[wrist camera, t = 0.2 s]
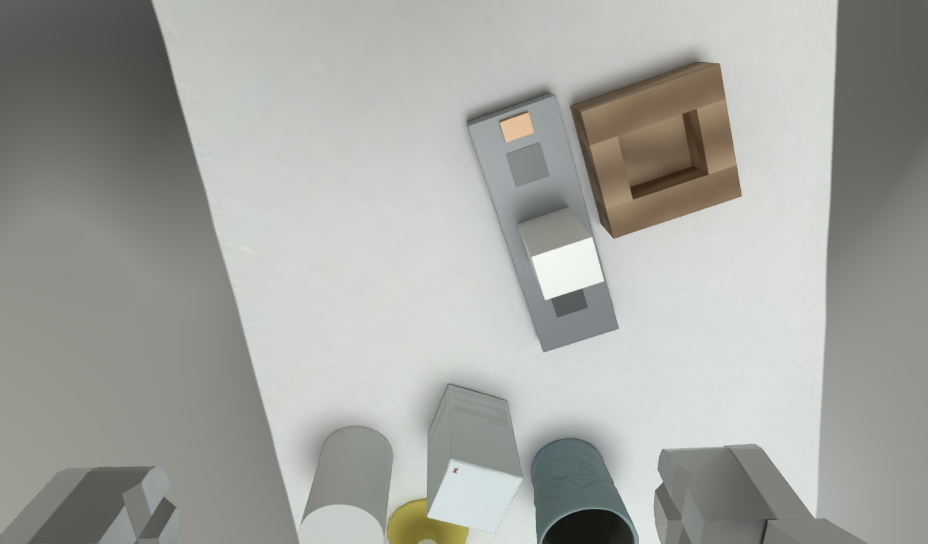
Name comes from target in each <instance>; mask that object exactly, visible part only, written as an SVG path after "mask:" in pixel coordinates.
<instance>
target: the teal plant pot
mask: <svg viewBox="0 0 928 544" xmlns="http://www.w3.org/2000/svg"><path fill="white" fill-rule="evenodd" d="M531 475H532V483H533V487H534V504H535V507H536V533H537V544H639V538H638V534H637V531H636V529H635V527H634V524H633V522H632V520H631V518H630V516H629V514H628V512H627V510H626V508H625V505H624V503H623V501H622V499H621V497H620V495H619V493H618V490H617V489H616V487H615V486H614V482H613V480H612V478H611V476H610V474H609V472H608V470H607V468H606V466H605V464H604V461H603V459H602V457H601V455H600V453H599V452H598V451H597V450H596V449H595V448H594V447H593V446H592V445H591V444H589V443H587V442H585V441H582V440H578V439H562V440H558V441H555V442H552V443H550V444H548V445H547V446H545V447H544V448H543V449H541V450H540V451H539V452H538V454H537V455H536V457H535V458H534V460H533V463H532V469H531Z"/></svg>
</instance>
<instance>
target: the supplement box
mask: <svg viewBox="0 0 928 544" xmlns="http://www.w3.org/2000/svg"><path fill="white" fill-rule="evenodd" d="M523 480H524V478H523V474H522V470H521V466H520V461H519V456H518V451H517V446H516V441H515V436H514V431H513V426H512V421H511V416H510V412H509V407H508V402H507V401H506V400H502V399H499V398H495V397H492V396H488V395H485V394H481V393H478V392H474V391H471V390H467V389H464V388H460V387H457V386H454V385H450V384H449V385H448V386H447V389H446V391H445V394H444V396H443V399H442V401H441V403H440V406H439V408H438V411H437V413H436V416H435V418H434V420H433V423H432V425H431V428H430V430H429V433H428V462H427V517H428V518H432V519H436V520H440V521H444V522H448V523H452V524H456V525H460V526H464V527H468V528H473V529H477V530H480V531H484V532H488V533H492V534H496V532H497V530H498V528H499V526H500V524H501V522H502V520H503V518H504V516H505V514H506V512H507V510H508V508H509V506H510V504H511V502H512V500H513V499H514V497H515V495H516V493H517V491H518V489H519V487H520V485H521V483H522V482H523Z"/></svg>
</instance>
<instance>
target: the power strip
mask: <svg viewBox="0 0 928 544" xmlns="http://www.w3.org/2000/svg"><path fill="white" fill-rule="evenodd" d="M467 125H468V128H469V131H470V134H471V137H472V140H473V143H474V146H475V149H476V152H477V155H478V158H479V161H480V164H481V167H482V170H483V173H484V176H485V179H486V182H487V185H488V188H489V191H490V194H491V197H492V200H493V203H494V206H495V209H496V212H497V215H498V218H499V221H500V224H501V227H502V230H503V233H504V236H505V239H506V242H507V245H508V248H509V251H510V254H511V257H512V260H513V263H514V266H515V269H516V272H517V275H518V278H519V281H520V284H521V287H522V290H523V293H524V296H525V299H526V302H527V305H528V308H529V311H530V314H531V317H532V320H533V323H534V326H535V329H536V332H537V335H538V338H539V341H540V344H541V347H542V350H543V353H544V352H547V351H550V350H553V349H556V348H559V347H563V346H566V345H569V344H572V343H575V342H578V341H582V340H585V339H588V338H591V337H594V336H597V335H600V334H604V333H607V332H610V331H613V330H616V329H619V327H618V323H617V320H616V316H615V312H614V309H613V305H612V301H611V298H610V294H609V290H608V287H607V283H606V279H605V276H604V272H603V268H602V265H601V261H600V257H599V254H598V250H597V246H596V243H595V239H594V235H593V232H592V228H591V224H590V220H589V217H588V213H587V209H586V206H585V202H584V198H583V195H582V191H581V187H580V184H579V180H578V176H577V173H576V169H575V165H574V162H573V158H572V154H571V151H570V147H569V143H568V140H567V136H566V132H565V129H564V125H563V121H562V118H561V114H560V110H559V106H558V103H557V99H556V95H554V94H551V93H547V94H544V95H541V96H539V97H536V98H533V99H530V100H527V101H524V102H522V103H519V104H516V105H513V106H510V107H508V108H505V109H502V110H499V111H496V112H494V113H491V114H488V115H485V116H482V117H479V118H477V119H474V120H471V121H468V122H467ZM567 207H569V208H570V209H571V210H572V212H573V213H574V214H575V215H576V217H577V218H578V219H579V221H580V222H581V223H582V224H583V226H584V227H585V228H586V230H587V231H588V232H589V233H590V235H591V236H592V238H593V242H594V245H595V249H596V253H597V256H598V260H599V264H600V267H601V271H602V275H603V278H604V281H603V282H600V283H597V284H594V285H591V286H588V287H585V288H582V289H579V290H576V291H572V292H569V293H566V294H563V295H560V296H557V297H554V298H551V299H548V300H545V299H544V296H543V294H542V291H541V289H540V286H539V284H538V281H537V279H536V276H535V274H534V271H533V269H532V266H531V264H530V261H529V258H528V255H527V252H526V249H525V246H524V243H523V240H522V237H521V233H520V230H519V227H518V224H519V223H522V222H525V221H528V220H531V219H534V218H537V217H540V216H543V215H546V214H549V213H552V212H555V211H558V210H561V209H564V208H567Z"/></svg>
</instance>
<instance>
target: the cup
mask: <svg viewBox="0 0 928 544" xmlns="http://www.w3.org/2000/svg"><path fill="white" fill-rule="evenodd" d="M392 462H393V451H392V448H391V445H390V443H389V442H388V440H387V439H386V438H385V437H384V436H383V435H382V434H380V433H379V432H377V431H375V430H373V429H370V428H367V427H361V426H351V427H346V428H342V429H340V430H338V431H336V432H334V433H333V434H332V435H331V436H329V438H328V439H327V440H326V442H325V443H324V446H323V449H322V452H321V456H320V459H319V463H318V466H317V470H316V473H315V476H314V480H313V483H312V487H311V490H310V494H309V497H308V501H307V504H306V508H305V511H304V514H303V518H302V521H301V525H300V528H299V533H298V538H299V543H300V544H383V541H384V532H385V523H386V515H387V506H388V497H389V488H390V479H391V471H392Z"/></svg>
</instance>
